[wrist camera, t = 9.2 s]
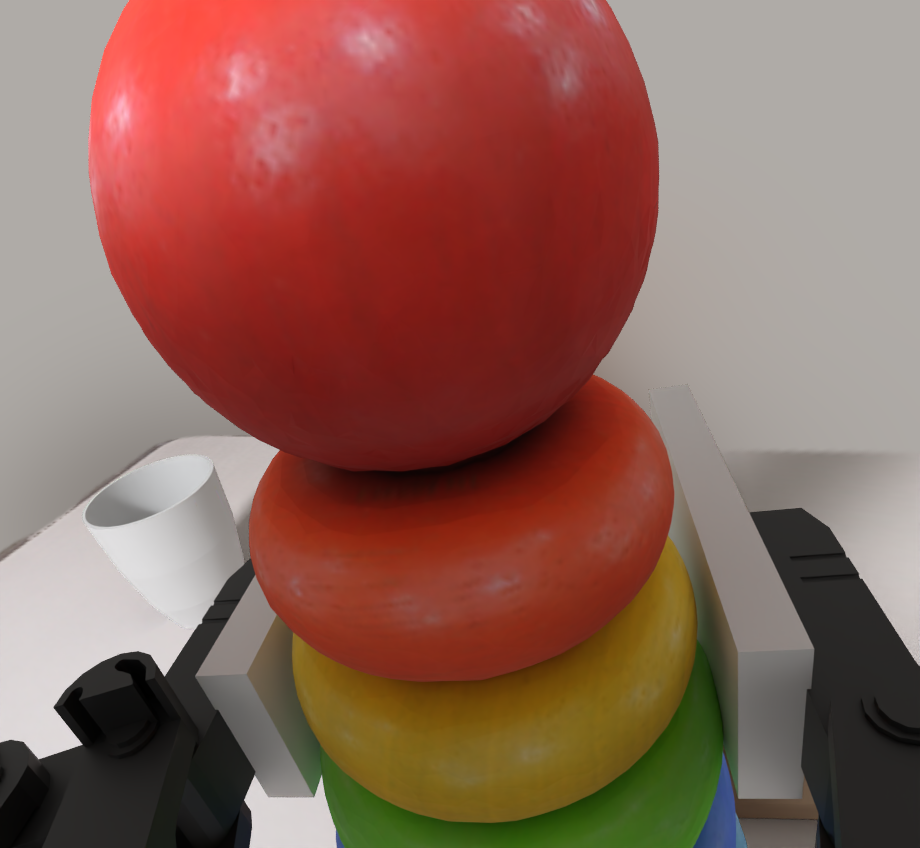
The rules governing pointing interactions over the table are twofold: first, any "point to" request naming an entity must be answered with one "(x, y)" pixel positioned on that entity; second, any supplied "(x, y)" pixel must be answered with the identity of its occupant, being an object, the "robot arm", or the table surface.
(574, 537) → the stacking toy
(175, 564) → the cup
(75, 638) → the table surface
